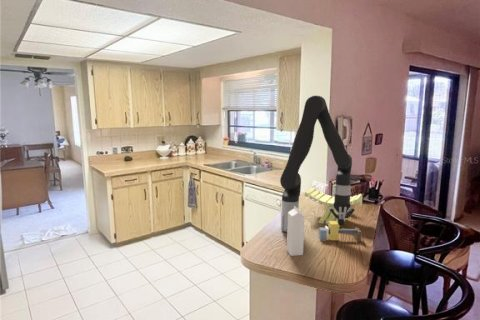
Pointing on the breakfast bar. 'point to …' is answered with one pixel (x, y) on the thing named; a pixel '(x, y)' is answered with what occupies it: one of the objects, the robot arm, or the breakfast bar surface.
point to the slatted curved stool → (330, 203)
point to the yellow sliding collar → (333, 230)
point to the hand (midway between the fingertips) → (340, 225)
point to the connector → (322, 234)
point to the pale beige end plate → (327, 230)
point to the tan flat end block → (358, 235)
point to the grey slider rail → (347, 231)
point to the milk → (295, 232)
